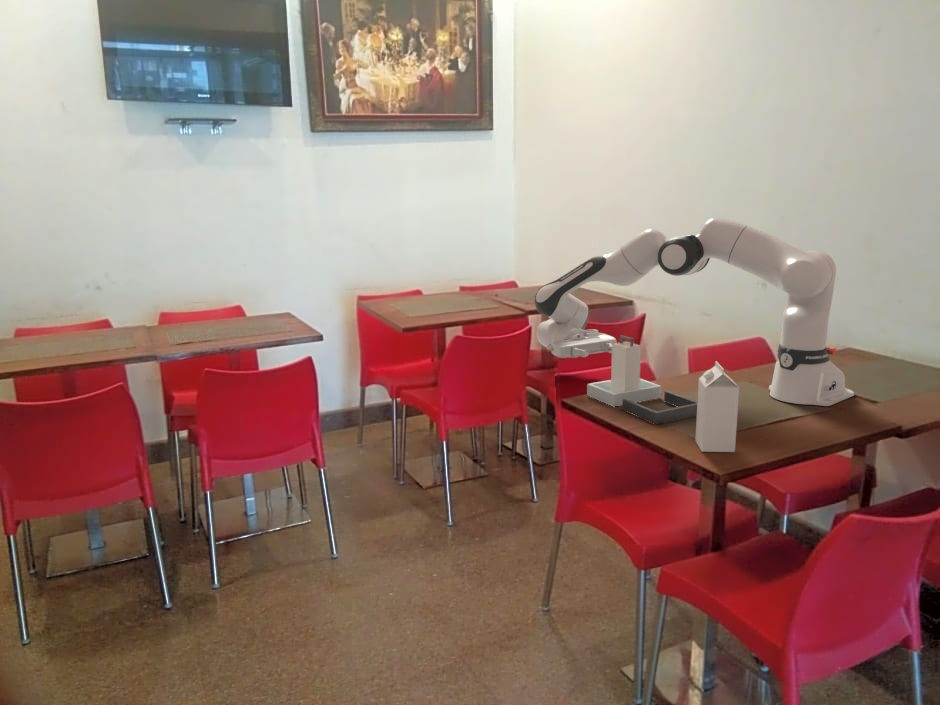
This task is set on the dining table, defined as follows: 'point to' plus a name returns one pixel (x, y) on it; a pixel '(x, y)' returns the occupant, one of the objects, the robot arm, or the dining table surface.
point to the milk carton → (716, 411)
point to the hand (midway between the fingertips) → (600, 352)
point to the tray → (615, 399)
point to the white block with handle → (625, 365)
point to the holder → (657, 417)
